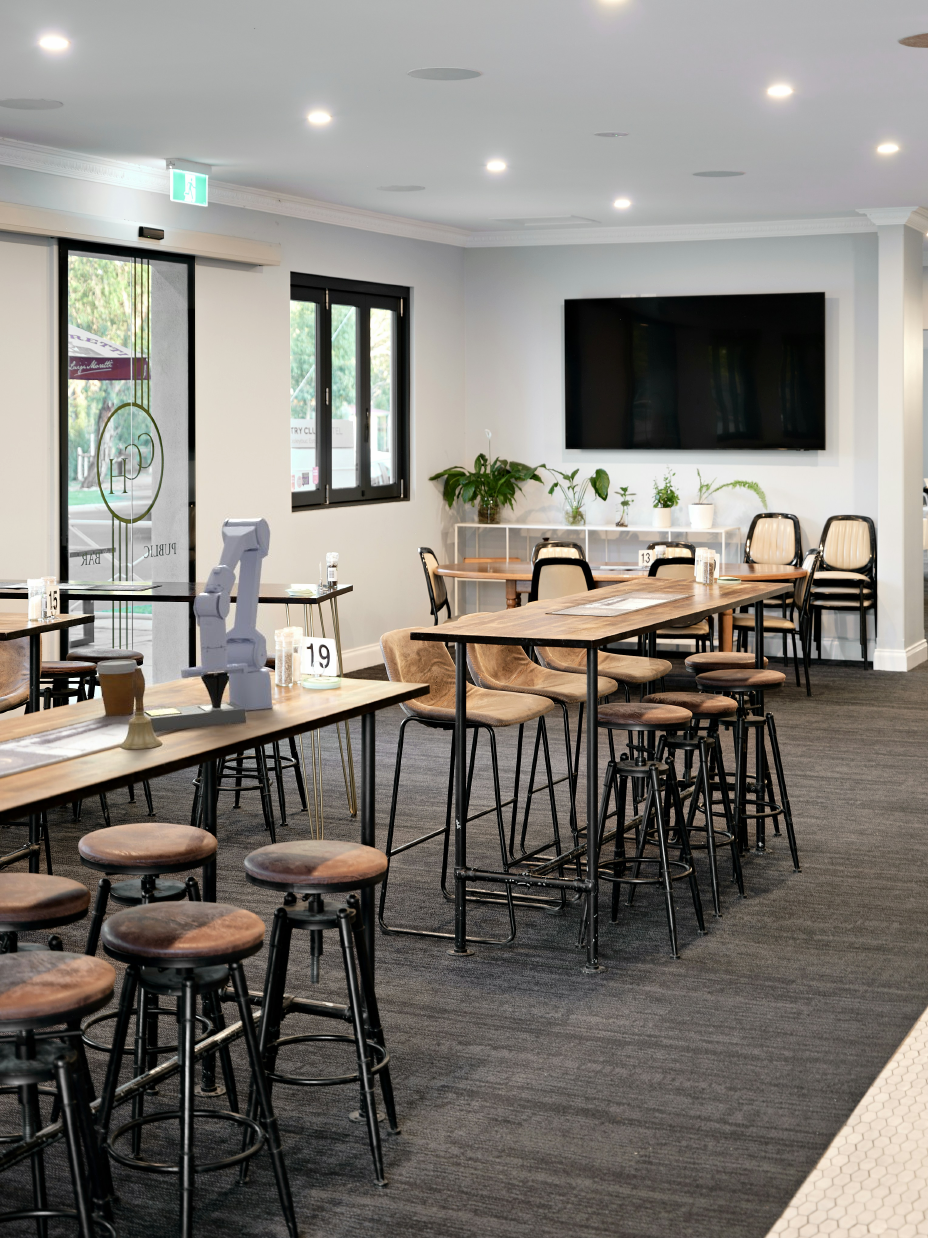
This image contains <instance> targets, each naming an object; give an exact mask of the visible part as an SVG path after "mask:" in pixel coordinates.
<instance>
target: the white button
mask: <svg viewBox="0 0 928 1238" xmlns="http://www.w3.org/2000/svg"><path fill="white" fill-rule="evenodd" d="M199 708H200V709H202V710H204V711H213V710H223V709H233V707H232V706H230V705H228V704H221V708H213V707H212V705H210V706H200V707H199Z"/></svg>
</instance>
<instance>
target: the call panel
mask: <svg viewBox="0 0 928 1238" xmlns="http://www.w3.org/2000/svg"><path fill="white" fill-rule="evenodd" d="M221 704H228V705H230V706H232V707H233V709H223V710H213V711H204V710H202V709H200V708H199V707H200V706H210V705H212V703H206V704H196V705H186V706H177V707H176V706H175V707H164V708H155V709H144V716H145V717H147V718H150V719H151V723H152V727H153V731H154V733H155V732H156V733H157V732H165V731H166V732H167V731H174V730H175V731H176V730H186V729H194V728H205V727H214V726H215V727H216V726H225V725H233V724H244V723H247V714H246V709H245V708H243V707H241V706H239V705H237V704H235V703H233V702H230V701H226V702H225V701H224V702H221ZM172 708H174V709H175V710H177V711H179V712H180V713H181V714H173V715H163V716H153V717H150V716H148V715H147V714H146V713H145V711H152V710H162V709H172ZM135 712H136V711H134V713H133V714H135Z"/></svg>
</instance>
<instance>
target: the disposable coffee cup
mask: <svg viewBox="0 0 928 1238" xmlns="http://www.w3.org/2000/svg"><path fill="white" fill-rule="evenodd" d="M135 668H139V665H137V660H135V659H126V658H125V659H122V658H121V659H109V660H102V661H99V662H97V665H96V668H95V671H96V673H97V674H98V680H99V684H100V691H101V695H102V701H103V706H104V707H103V708H104V713H105V716H108V717H109V716H110V717H120V716H128V715H132V714H135V713H134V710H135V696H134V693H133V688H132V679H133V675H134V671H135Z"/></svg>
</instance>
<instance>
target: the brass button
mask: <svg viewBox="0 0 928 1238" xmlns="http://www.w3.org/2000/svg"><path fill="white" fill-rule="evenodd" d="M171 708H172V709H163V708H161V709H162V710H153V709H151V710H152V711H145V713H146V714H147V715H148V716H150V717H153V716H163V715H173V714H181V713H180V712H179V711H177V710H175V709H174V708H173V707H171Z"/></svg>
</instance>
